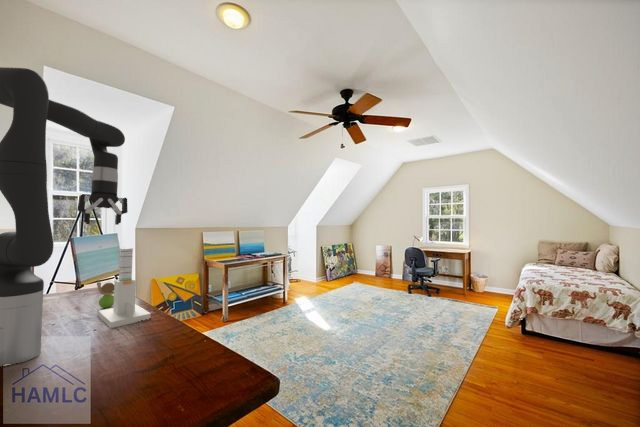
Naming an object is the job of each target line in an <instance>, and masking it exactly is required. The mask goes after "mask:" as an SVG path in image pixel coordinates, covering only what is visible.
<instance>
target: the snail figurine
mask: <svg viewBox="0 0 640 427" xmlns="http://www.w3.org/2000/svg"><path fill="white" fill-rule="evenodd" d="M99 280H100V279H96V282H97V283H96V287H97V290H98V292H99V294H101V295H102V296H100V298H99V300H98V305H99V306H100V308H103V309H109V308H112V307H114V283H113V282H106V283H104V284H103V285H102V282H101V281H99Z"/></svg>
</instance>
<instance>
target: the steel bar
mask: <svg viewBox="0 0 640 427" xmlns="http://www.w3.org/2000/svg"><path fill="white" fill-rule="evenodd" d="M133 251H134V249H133V248H132V247H120V248H119V270H118V279H119V281H128V280H132V278H133V257H134V256H133Z"/></svg>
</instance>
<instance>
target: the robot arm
mask: <svg viewBox="0 0 640 427" xmlns="http://www.w3.org/2000/svg"><path fill="white" fill-rule="evenodd" d="M49 94H50V93H49V90H48V86H47V83H46V82H45V80H44V78H43V77H42V76H41V75H40V74H39V73H38V72H37V71H34V70H33V69H30V68H25V67H3V66H2V67H1V66H0V105H2V106H5V107H9V108H12V112H13V113H12V120H11V124H10V127H9V128H8V130H7V131H6V133H5V134H4V136H3V138H2V139H1V140H0V192H1V194H2V195H3V196H4V198H5V200H6V201H7V203H8V204H9V206H10V207H11V209H12V211H13V216H14V222H15V231H7V232H6V231H4V232H1V233H0V366H2V365H5V364H14V365H16V364H15V363H18V364H21V362H22V363H25V362H28V361H29V360H32V359H34V358H36V357H38V356H39V355H40V354H41V353H42V352H41V350H42V332H43V329H42V328H43V309H44V308H43V307H44V306H43V304H44V286H45V282H44V279H43V278H41V277H40V276H38V275H36V274H35V273H34V272H33V270H32V268H35V267H40V266H42V265H45V264H46V263H47V262H49V260H50V258H51V257H52V255H53V252H54V237H53V236H54V235H53V232H52V225H51V219H50V214H49V202H48V187H47V186H48V183H47V182H48V172H47V171H48V169H47V168H48V166H47V154H46V153H47V151H46V146H47V145H46V142H47V140H46V137H47V136H46V134H47V132H46V131H47V121H49V122H51V123H55V124H57V125H59V126H62V127H64V128H65V129H67V130H69V131H72V132H74V133H75V134H78V135H80V136H83V137H84V138H87V139H88V138H89V143H90V146H91V149H92V153H93V168H92V174H91V188H90V189H91V190H90V191H91V192H90V195H87V194H80V195H79V196H78V203H77V212H80V213H82V214H83V222H84V223H85V225H90V223H91V212H92V211H93V210H94V209H95V208H97V209H100V208H101V209H102V208H104V209H112V211H113V212H114V213H115V218H114V220H115V221H114V225H118V226H119V224H121V222H122V215H124V214H127V213H128V198H127V197H119V196H118V188H119V186H118V184H119V183H118V182H119V172H118V168H119V166H118V165H119V164H118V163H119V157H118V155H117V154H116V153H113V152H109V151H108V148H117V147H118V148H119V147H121V146H123V145H124V143H125V141H126V137H125V135H124V133H123V131H121V129H120V128H118V127H116V126H114V125H111V124H109V123H106V122H103V121H100V120H98V119H96V118H94V117H92V116H90V115H89V114H87V113H85V112H84V111H82V110H79V109H77V108H75V107H72V106H69V105H67V104H63V103H60V102H58V101H55V100H53V99H50V98H49V97H50V95H49ZM87 200H89V201H90V202H91V204H90V205H89V206H88V207H87V208H84V206H85V202H87ZM117 202H119V203H120V204H121V209H120V208H119V207H118V206H117V204H116V203H117Z"/></svg>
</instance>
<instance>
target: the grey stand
mask: <svg viewBox="0 0 640 427" xmlns="http://www.w3.org/2000/svg"><path fill="white" fill-rule="evenodd" d="M113 284H114V291H113V292H114V293H113V296H114V305H113V307H109V308H103V309H100V310H97V317H98V318H99V319H101V320H102V321H103V322H104V323H105V324H106V325H107V326H108V327H109V328H110V329H114V328H117V327H121V326H125V325H130V324H134V323H139V322H142V321H141V320H143V321H146V320H145V319H147V320H150V319H149V318H151V317H152V316H151V314H152V313H151V312H149V311H148V310H146V309H144V308H142V307H141V306H140V305H138V304H136V287H137V279H135V278H133V277H132V280H128V281H119V278H117V279H114V283H113ZM138 321H139V322H138Z"/></svg>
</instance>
